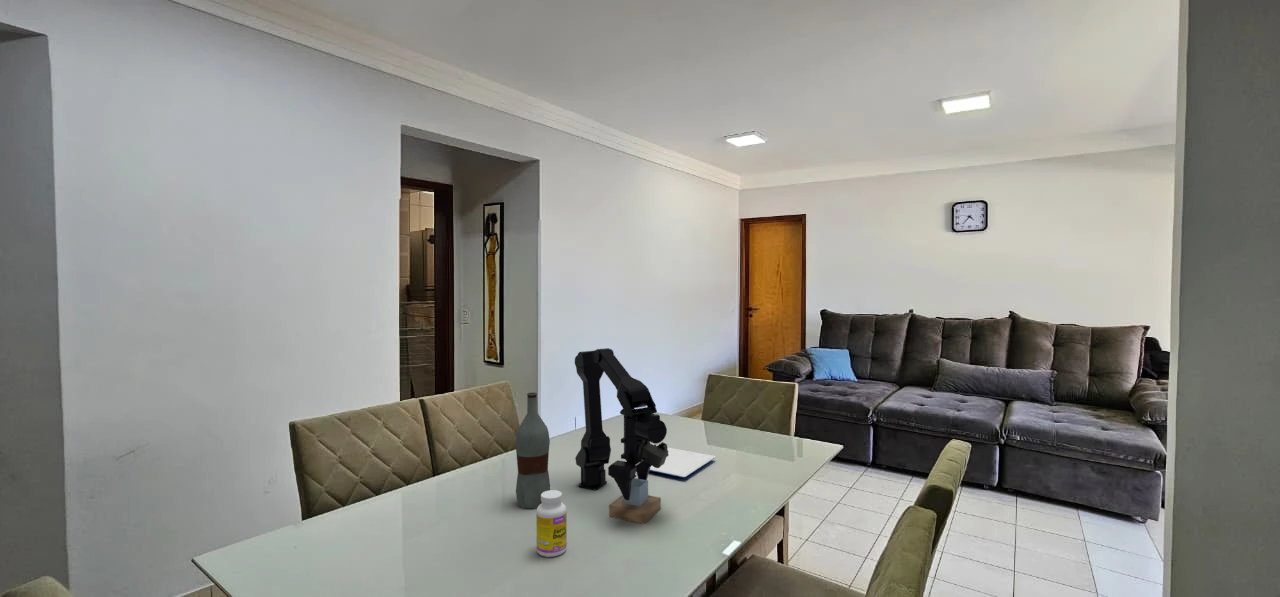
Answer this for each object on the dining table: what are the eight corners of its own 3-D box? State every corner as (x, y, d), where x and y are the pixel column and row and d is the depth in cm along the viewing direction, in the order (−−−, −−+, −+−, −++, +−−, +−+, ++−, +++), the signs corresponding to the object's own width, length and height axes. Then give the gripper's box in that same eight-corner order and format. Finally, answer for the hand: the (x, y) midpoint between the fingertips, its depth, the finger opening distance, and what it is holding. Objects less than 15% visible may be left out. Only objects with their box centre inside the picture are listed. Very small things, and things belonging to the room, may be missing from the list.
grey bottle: (534, 493, 156) (532, 388, 155) (557, 500, 151) (556, 392, 150) (508, 504, 148) (507, 394, 147) (532, 512, 143) (531, 398, 142)
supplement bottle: (553, 561, 118) (552, 502, 118) (530, 553, 122) (529, 496, 121) (572, 548, 124) (572, 492, 123) (550, 541, 127) (549, 486, 127)
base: (609, 516, 140) (609, 505, 140) (627, 502, 149) (626, 491, 149) (644, 523, 136) (644, 511, 136) (660, 508, 145) (660, 497, 145)
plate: (716, 461, 183) (716, 455, 183) (684, 482, 164) (684, 476, 164) (658, 451, 195) (658, 445, 195) (622, 469, 176) (622, 463, 176)
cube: (622, 503, 141) (622, 483, 141) (631, 496, 146) (631, 477, 146) (639, 506, 139) (639, 486, 139) (648, 499, 144) (648, 480, 144)
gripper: (647, 448, 130) (648, 512, 131) (677, 428, 147) (677, 486, 147) (606, 442, 135) (607, 504, 136) (639, 424, 152) (640, 479, 152)
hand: (635, 493), depth 143 cm, fingers open, 9 cm apart
